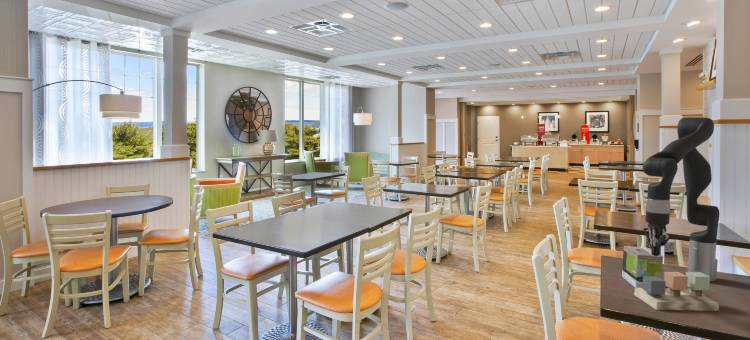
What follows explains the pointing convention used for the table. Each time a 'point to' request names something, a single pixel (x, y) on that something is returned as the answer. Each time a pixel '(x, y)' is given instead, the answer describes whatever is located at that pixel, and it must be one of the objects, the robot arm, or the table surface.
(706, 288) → the sage green cube
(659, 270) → the tea box
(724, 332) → the table surface
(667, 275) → the terracotta key
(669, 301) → the key board
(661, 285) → the grey cube
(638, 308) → the table surface
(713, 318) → the table surface
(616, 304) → the table surface
